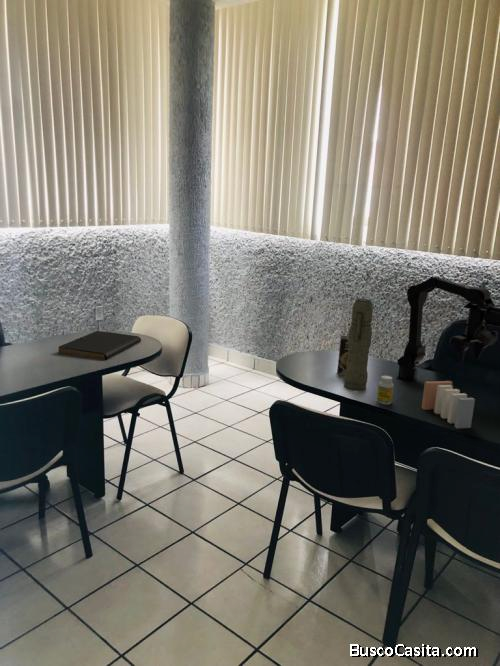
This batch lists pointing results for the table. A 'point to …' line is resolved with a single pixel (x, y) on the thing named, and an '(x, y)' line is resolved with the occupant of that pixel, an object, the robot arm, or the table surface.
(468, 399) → the domino
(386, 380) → the supplement bottle
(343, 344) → the coffee box
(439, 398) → the domino
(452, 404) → the domino
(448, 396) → the domino
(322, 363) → the table surface
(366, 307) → the thermos
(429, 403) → the domino
